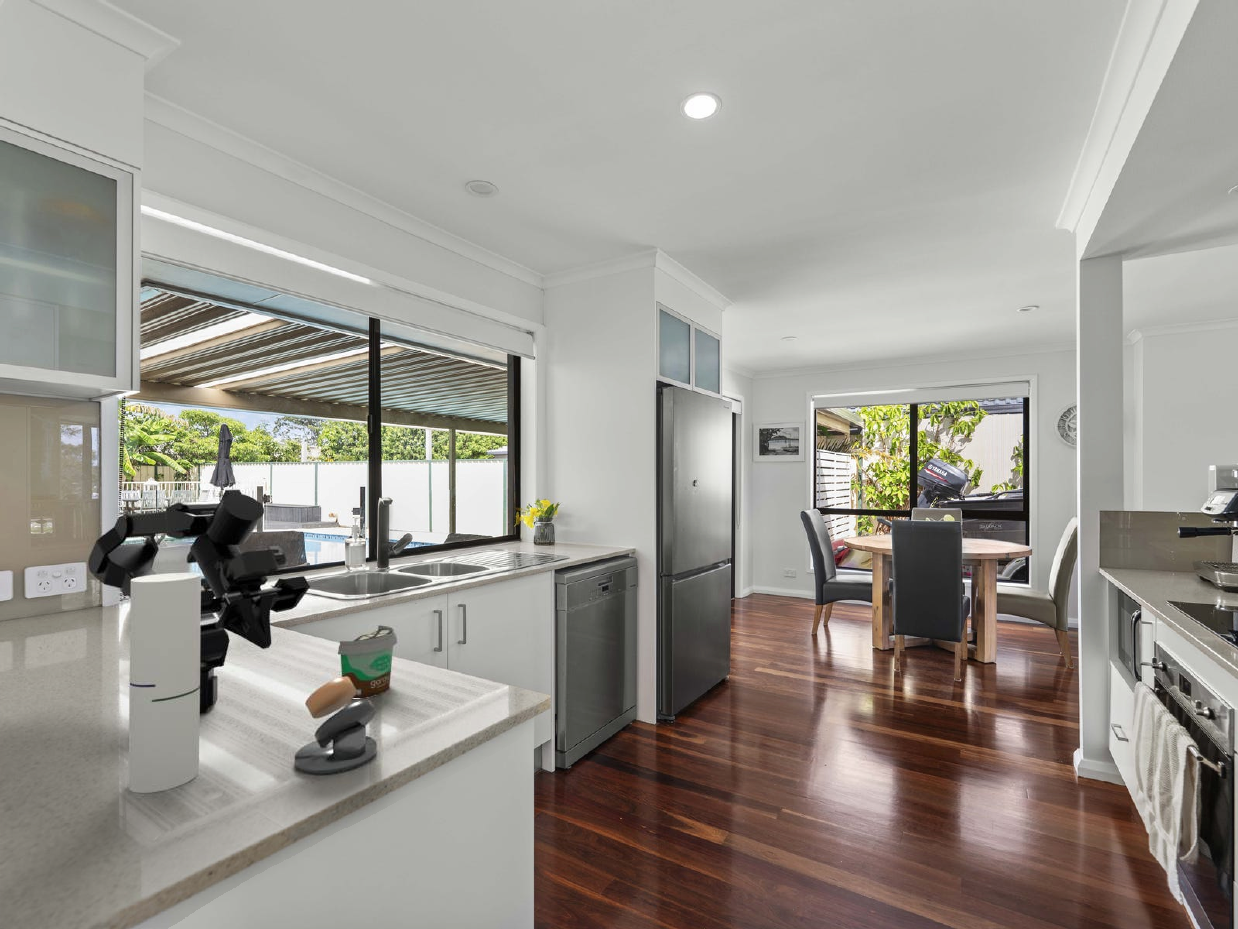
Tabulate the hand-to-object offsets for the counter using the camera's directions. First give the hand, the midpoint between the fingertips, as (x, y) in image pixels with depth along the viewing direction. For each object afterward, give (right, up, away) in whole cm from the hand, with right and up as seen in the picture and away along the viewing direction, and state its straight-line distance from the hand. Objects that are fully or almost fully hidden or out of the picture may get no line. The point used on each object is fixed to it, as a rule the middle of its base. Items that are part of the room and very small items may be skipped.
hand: (267, 646), depth 92 cm
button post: (+13, -13, -7) cm, 20 cm away
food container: (+9, -13, +18) cm, 24 cm away
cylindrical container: (-5, -13, -13) cm, 19 cm away
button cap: (+12, -8, -7) cm, 16 cm away
